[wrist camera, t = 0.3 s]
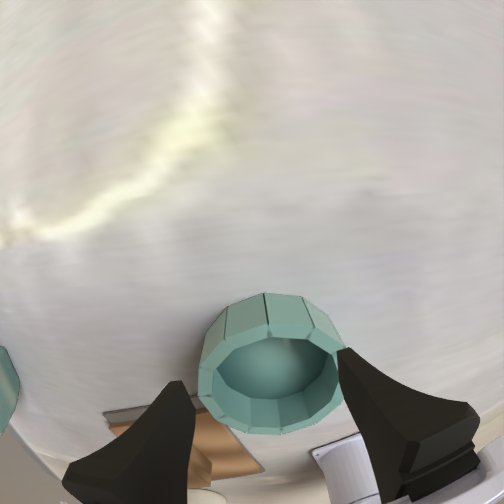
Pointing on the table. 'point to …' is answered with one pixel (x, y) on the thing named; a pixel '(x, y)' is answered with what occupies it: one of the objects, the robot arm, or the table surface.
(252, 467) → the lid
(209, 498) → the milk bottle
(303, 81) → the table surface
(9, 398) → the flower pot
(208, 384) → the bowl
